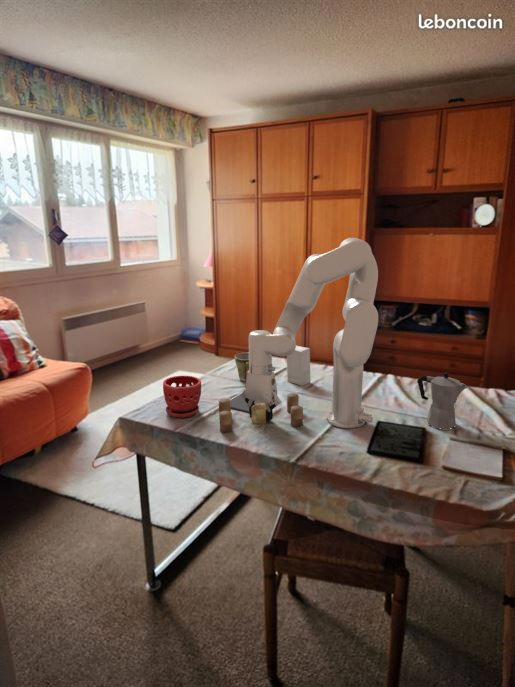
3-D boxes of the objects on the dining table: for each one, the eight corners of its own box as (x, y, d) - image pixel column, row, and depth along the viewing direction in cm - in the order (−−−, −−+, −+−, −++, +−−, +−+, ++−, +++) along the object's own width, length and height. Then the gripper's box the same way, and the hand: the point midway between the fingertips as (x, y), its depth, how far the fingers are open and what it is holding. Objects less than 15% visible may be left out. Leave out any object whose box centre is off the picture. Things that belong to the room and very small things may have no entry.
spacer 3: (300, 410, 162) (300, 394, 161) (295, 414, 159) (295, 398, 157) (290, 408, 164) (290, 392, 163) (285, 412, 161) (285, 396, 159)
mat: (274, 400, 171) (274, 399, 171) (255, 414, 159) (255, 412, 159) (243, 393, 178) (243, 392, 178) (222, 406, 166) (222, 404, 166)
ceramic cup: (234, 375, 198) (233, 353, 196) (257, 373, 199) (257, 352, 197) (236, 385, 186) (235, 362, 183) (260, 384, 187) (260, 361, 184)
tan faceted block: (258, 415, 159) (258, 401, 157) (272, 418, 156) (272, 404, 155) (249, 422, 154) (248, 408, 152) (263, 425, 151) (263, 411, 149)
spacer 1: (233, 416, 158) (232, 400, 157) (226, 420, 155) (226, 404, 153) (223, 413, 160) (223, 397, 158) (216, 418, 157) (216, 401, 155)
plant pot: (187, 423, 153) (185, 390, 150) (157, 415, 159) (154, 383, 156) (209, 409, 164) (208, 377, 161) (180, 402, 170) (178, 372, 167)
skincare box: (310, 382, 189) (311, 348, 184) (301, 386, 184) (301, 351, 180) (295, 377, 194) (295, 344, 190) (285, 381, 190) (286, 347, 186)
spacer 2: (234, 429, 149) (234, 412, 147) (227, 434, 145) (227, 416, 144) (224, 426, 151) (224, 409, 149) (217, 431, 147) (216, 414, 146)
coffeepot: (465, 423, 151) (471, 372, 146) (458, 434, 143) (465, 381, 138) (418, 412, 159) (422, 363, 154) (409, 422, 152) (414, 371, 147)
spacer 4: (304, 423, 152) (305, 407, 150) (299, 428, 149) (299, 411, 147) (293, 421, 154) (294, 404, 152) (288, 425, 151) (288, 408, 149)
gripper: (289, 369, 149) (288, 420, 154) (244, 361, 157) (245, 409, 162) (278, 375, 142) (277, 428, 147) (232, 367, 151) (233, 417, 156)
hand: (260, 418), depth 155 cm, fingers closed on tan faceted block, 5 cm apart
